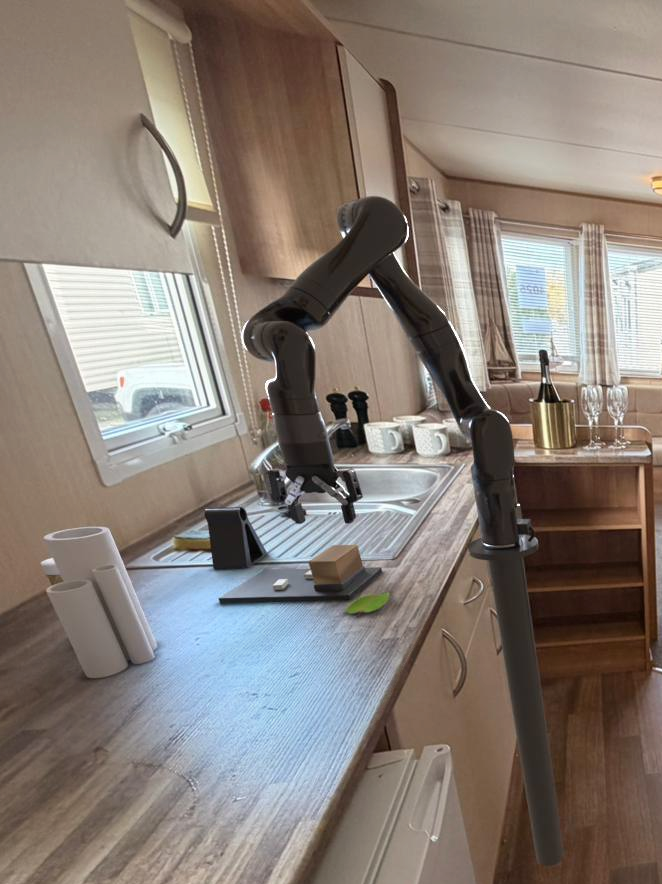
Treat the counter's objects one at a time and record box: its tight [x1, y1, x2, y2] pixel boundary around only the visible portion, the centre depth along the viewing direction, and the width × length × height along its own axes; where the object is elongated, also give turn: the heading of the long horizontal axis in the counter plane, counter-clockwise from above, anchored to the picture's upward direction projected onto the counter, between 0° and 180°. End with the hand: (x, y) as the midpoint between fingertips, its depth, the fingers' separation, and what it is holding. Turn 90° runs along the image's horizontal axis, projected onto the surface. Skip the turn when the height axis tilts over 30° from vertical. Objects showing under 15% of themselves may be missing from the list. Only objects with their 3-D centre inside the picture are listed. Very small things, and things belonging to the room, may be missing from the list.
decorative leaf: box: [346, 592, 390, 618], centre depth 121 cm, size 8×9×1 cm
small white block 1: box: [273, 579, 289, 590], centre depth 124 cm, size 2×3×1 cm, turn 20°
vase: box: [43, 526, 158, 679], centre depth 96 cm, size 11×7×20 cm, turn 31°
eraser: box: [308, 544, 366, 591], centre depth 127 cm, size 5×10×6 cm, turn 10°
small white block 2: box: [304, 570, 313, 579], centre depth 129 cm, size 2×3×1 cm, turn 10°
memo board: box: [218, 566, 383, 605], centre depth 127 cm, size 22×15×1 cm
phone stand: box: [204, 506, 268, 570], centre depth 135 cm, size 9×6×12 cm, turn 15°
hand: (325, 522), depth 123 cm, fingers open, 8 cm apart
